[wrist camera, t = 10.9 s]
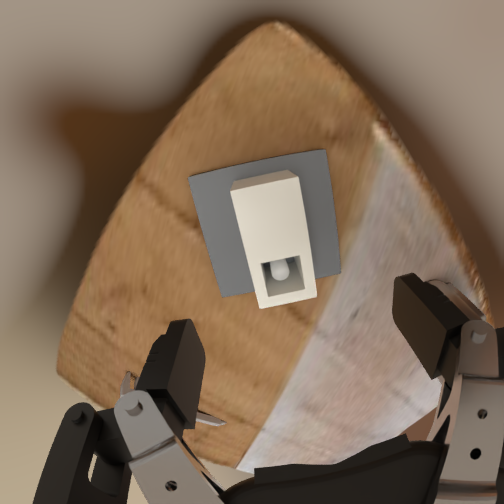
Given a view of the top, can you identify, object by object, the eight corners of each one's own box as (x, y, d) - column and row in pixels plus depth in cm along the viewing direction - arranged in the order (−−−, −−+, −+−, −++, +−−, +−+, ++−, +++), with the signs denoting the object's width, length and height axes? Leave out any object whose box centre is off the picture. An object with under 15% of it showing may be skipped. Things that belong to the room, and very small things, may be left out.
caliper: (126, 372, 39) (114, 399, 33) (128, 369, 39) (117, 397, 33) (223, 422, 44) (221, 449, 38) (226, 420, 44) (225, 448, 38)
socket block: (287, 169, 26) (298, 176, 21) (305, 268, 30) (317, 296, 25) (233, 181, 26) (230, 191, 21) (257, 278, 31) (259, 308, 25)
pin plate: (322, 148, 26) (341, 150, 21) (338, 268, 32) (355, 295, 26) (190, 176, 27) (175, 185, 22) (222, 292, 33) (218, 323, 27)
